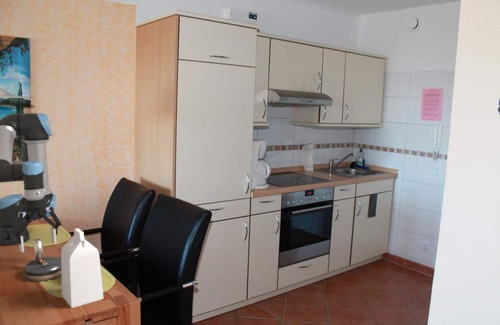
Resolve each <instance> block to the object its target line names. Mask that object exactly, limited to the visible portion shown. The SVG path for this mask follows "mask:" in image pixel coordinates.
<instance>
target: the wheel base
mask: <svg viewBox="0 0 500 325" xmlns="http://www.w3.org/2000/svg"><path fill="white" fill-rule="evenodd" d="M22 276H23V279H24V280H25V281H26V282H30V283H42V282H41V281H45V282H49V281H48V280H51V281H54V280H57V279H59V278H62V273H61V271H58V272H56V273H53V274H49V275H42V276H33V275H29V274H27V273H26V269H25V268H24V270H23V271H22ZM56 278H57V279H56ZM53 279H54V280H53Z"/></svg>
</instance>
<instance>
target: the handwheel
mask: <svg viewBox="0 0 500 325" xmlns="http://www.w3.org/2000/svg"><path fill="white" fill-rule="evenodd" d="M33 248H34V249H33V250H34V252H33V253H34V260H31V261H29V262H28V263H26V265H25V268H24V270H25V269H26V273H27V274H29V275H33V276H42V275H49V274H53V273H56V272H58V271H61V257H59V256H46V257H44V251H43V250H44V249H43V239H42V238H36V239H34V240H33Z"/></svg>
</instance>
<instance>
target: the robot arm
mask: <svg viewBox="0 0 500 325" xmlns="http://www.w3.org/2000/svg"><path fill="white" fill-rule="evenodd" d="M50 123H51V122H50V118H49V116H48V114H47V113H41V112H35V113H34V112H31V113H25V112H24V113H16V112H15V113H10V114H7V115H5V116H4V117H2V118H0V183H9V182H10V183H12V182H23V194H24V195H23V194H22V193H14V194H9V195H6V196H5V195H4V196H3V197H0V246H14V245H18V251H19V252H21V253H24V252H25V246H24V243H26V242H27V241H30V239H31V235H30V231H29V230H28V226H29V225H30V224H31V222H34V221H37V220H38V221H39V220H42V219H43V220H44V221H45V222H46V223H47V224H49V225H50V226H51V227H50V236H51V237H50V238H51V243H52V244H57V236H58V229H59V227H61V226H62V225H63V224H62V222H61V221H60V219H59V218H58V216H57V214H56V213H55V212H56V210H55V209H56V199H57V198H56V196H57V195H56V194H54V193H53V190H52V189H50V184H49V180H50V179H49V170H48V154H47V153H48V152H47V143H48V142H49V141H50V137H52V135H53V134H52V129H51V124H50ZM16 138H23V142H25V143H26V144H27V159H28V161H25V162H23V163H13V153H14V152H13V150H14V141H15V139H16ZM50 218H52V220H53V221H54V222H53V221H52V220H51V219H50Z"/></svg>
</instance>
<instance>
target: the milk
mask: <svg viewBox="0 0 500 325" xmlns="http://www.w3.org/2000/svg"><path fill="white" fill-rule="evenodd" d="M73 230H74V231H73V232H74V233H73V235H72V236H71V238H70V239H69V240H68V241H67V242H65V243H64V245H63V246H62V247H61V250H60V251H61V252H60V254H61V255H60V256H61V257H60V258H61V273H62V277H61V296H62V298H63V299H64V300H65V302H66V303H67V304H68V306H69V307H70V308H71V309H72V308H73V309H74V308H76V307H80V306H84V305H87V304H90V303H93V302H98V301H100V300H103V299H104V291H103V290H104V289H103V288H104V287H103V281H102V279H103V277H102V269H101V267H102V266H101V260H100V252H99V250H98V248H97V247H95V246H94V245H93V244H92V243H90V242H89V241H87V239H85V235H84V234H85V233H84V231H83V230H81V229H80V228H78V227H77V228H74V229H73Z"/></svg>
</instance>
